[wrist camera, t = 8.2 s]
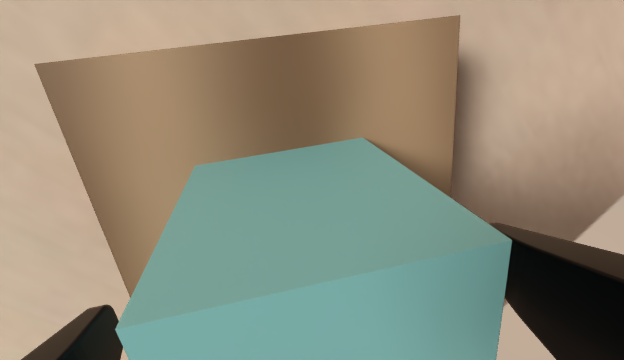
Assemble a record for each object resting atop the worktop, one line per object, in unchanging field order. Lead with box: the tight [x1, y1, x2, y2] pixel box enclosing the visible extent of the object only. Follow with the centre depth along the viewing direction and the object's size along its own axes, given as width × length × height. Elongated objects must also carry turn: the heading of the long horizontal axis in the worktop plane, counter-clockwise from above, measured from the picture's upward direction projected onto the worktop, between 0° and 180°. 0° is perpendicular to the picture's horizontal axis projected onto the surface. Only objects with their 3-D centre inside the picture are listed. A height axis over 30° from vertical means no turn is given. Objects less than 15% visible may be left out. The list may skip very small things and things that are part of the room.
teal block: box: [115, 138, 512, 360], centre depth 8 cm, size 5×5×6 cm
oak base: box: [34, 15, 460, 298], centre depth 12 cm, size 11×11×3 cm
